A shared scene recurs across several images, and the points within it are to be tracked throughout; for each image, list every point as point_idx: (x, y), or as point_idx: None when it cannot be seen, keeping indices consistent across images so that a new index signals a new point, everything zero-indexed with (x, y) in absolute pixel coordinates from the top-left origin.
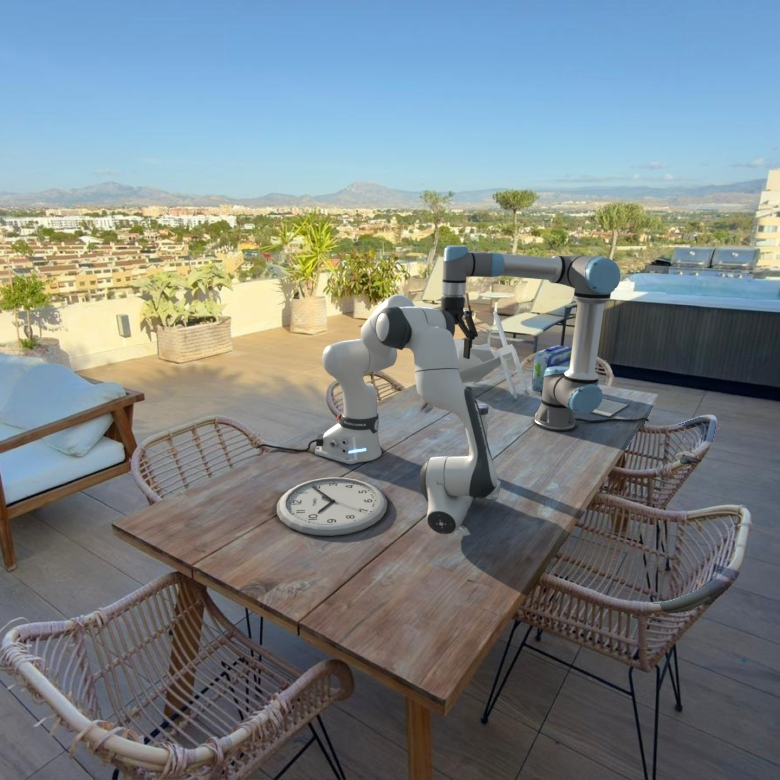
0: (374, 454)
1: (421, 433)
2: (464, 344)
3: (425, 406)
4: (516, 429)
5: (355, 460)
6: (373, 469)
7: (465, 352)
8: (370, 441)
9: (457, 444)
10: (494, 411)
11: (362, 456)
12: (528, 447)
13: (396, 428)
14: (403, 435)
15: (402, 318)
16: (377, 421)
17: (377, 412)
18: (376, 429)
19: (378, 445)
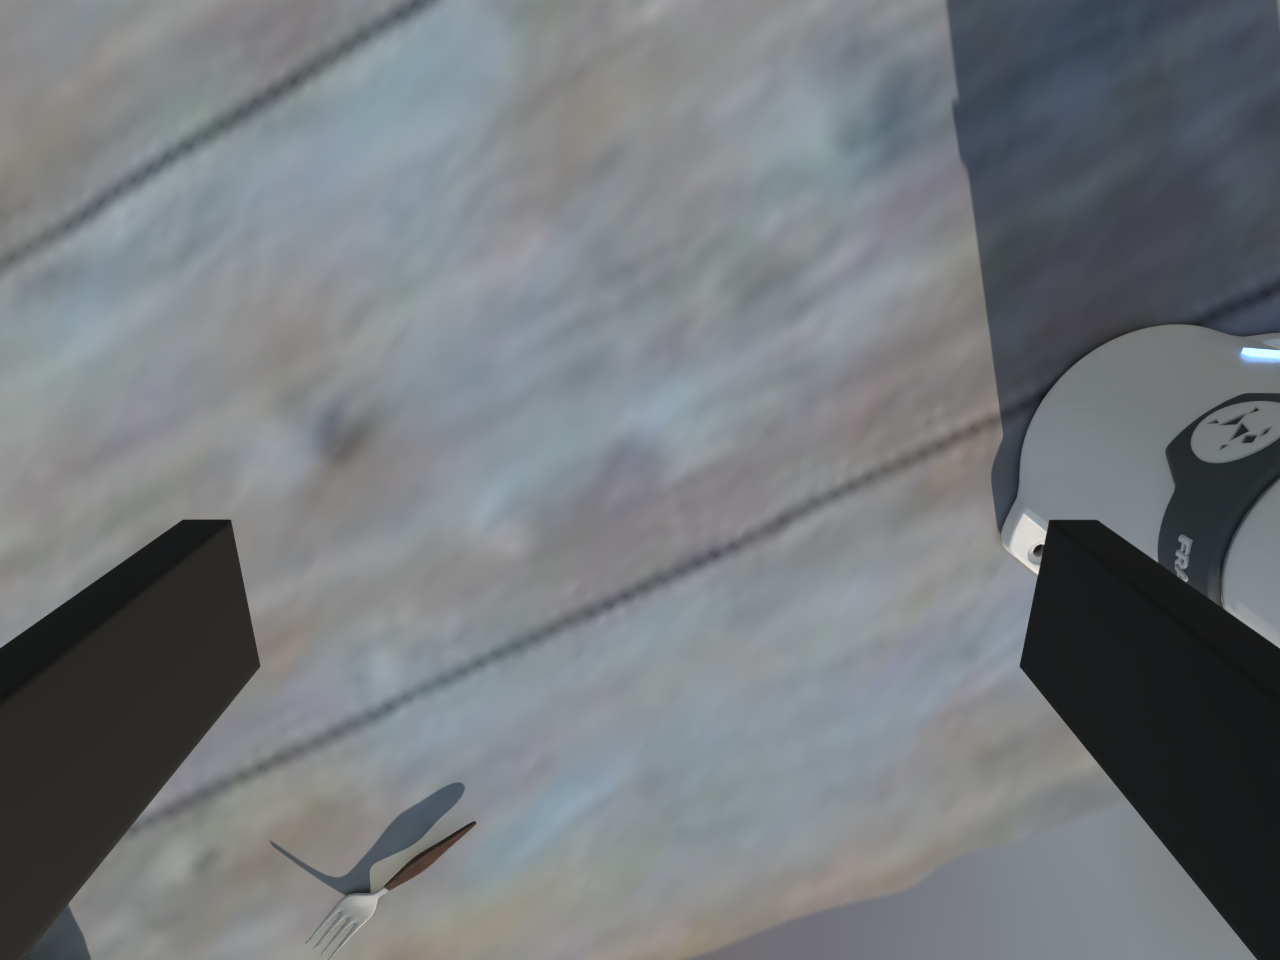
0: (1153, 343)
1: (659, 545)
2: (69, 870)
3: (423, 852)
4: (26, 338)
5: (1274, 338)
6: (1228, 214)
7: (182, 674)
8: (1238, 372)
9: (550, 303)
10: None
11: (1240, 341)
12: (103, 23)
13: (750, 664)
14: (773, 563)
15: None
16: (1261, 434)
17: (1228, 528)
18: (1231, 408)
19: (1120, 388)
